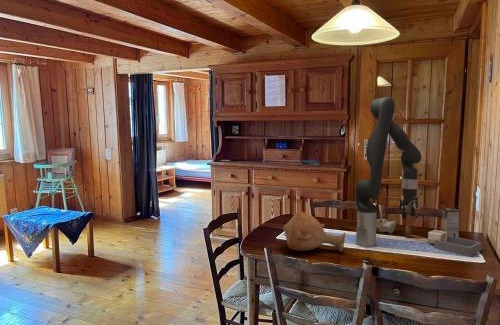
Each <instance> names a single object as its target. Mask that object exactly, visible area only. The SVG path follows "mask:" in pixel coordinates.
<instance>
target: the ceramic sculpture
mask: <svg viewBox="0 0 500 325" xmlns="http://www.w3.org/2000/svg"><path fill="white" fill-rule="evenodd" d="M396 224H397V221H396V220H392V221H389V220H388V219H387V218H386V217H382V218H381V219H380V218H379V219H376V232H379V233H386V232H387V233H388V234H392V233H394V231H395V229H396Z"/></svg>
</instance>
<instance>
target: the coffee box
mask: <svg viewBox="0 0 500 325" xmlns="http://www.w3.org/2000/svg"><path fill="white" fill-rule="evenodd" d="M460 213H461V212H460V211H459V210H458V209H457V208H455V207H446V206H445V207H441V217H440V218H441V219H440V220H441V221H440V231H444V232H447V235H449V236H454V237H458V238H459V233H460V232H459V231H460V230H459V229H460Z"/></svg>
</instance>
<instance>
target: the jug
mask: <svg viewBox="0 0 500 325" xmlns="http://www.w3.org/2000/svg"><path fill="white" fill-rule="evenodd" d="M324 228H325V224H324V223H321V222H320V221H319V220H318V219H317V218H316V217H314V216H312V215H311V214H308V213H307V212H304V211H296V212H295V213H294V215H293V216H292V217H291V219H289V221H288V222H287V223H286V224H285V225H283V228H282V230H283V231H284V235H285V238H286V240H285V241H286V243H287V247H288V248H289V249H290V250H293V251H297V252H298V251H299V252H300V251H301V252H303V251H304V252H305V251H312V250H315V249H317V248H318V247H319V246H321V245H324V244H328V245H331V246H333V247H335V248H337V249H338V251H339V252H340V253H342V252H343V250H344V247H345V241H346V240H345V239H346V232H343V233H342V234H338V235H335V234H330V233H327V232H326V231H325V230H324Z"/></svg>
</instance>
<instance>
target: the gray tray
mask: <svg viewBox="0 0 500 325" xmlns="http://www.w3.org/2000/svg"><path fill="white" fill-rule="evenodd" d="M433 244H434V249H436V250H440V251H443V252H444V251H445V252H448V253H452V254H457V255H461V256H464V257H468V258H471V257H472V256H475V255H477V252H478V253H480V252H481V251H482V246H483V244H482V242H481V241H476V240H472V239H466V238H462V237H459V236H458V237H454V236H449V235H447V242H443V241H439V240H434V243H433Z"/></svg>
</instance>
